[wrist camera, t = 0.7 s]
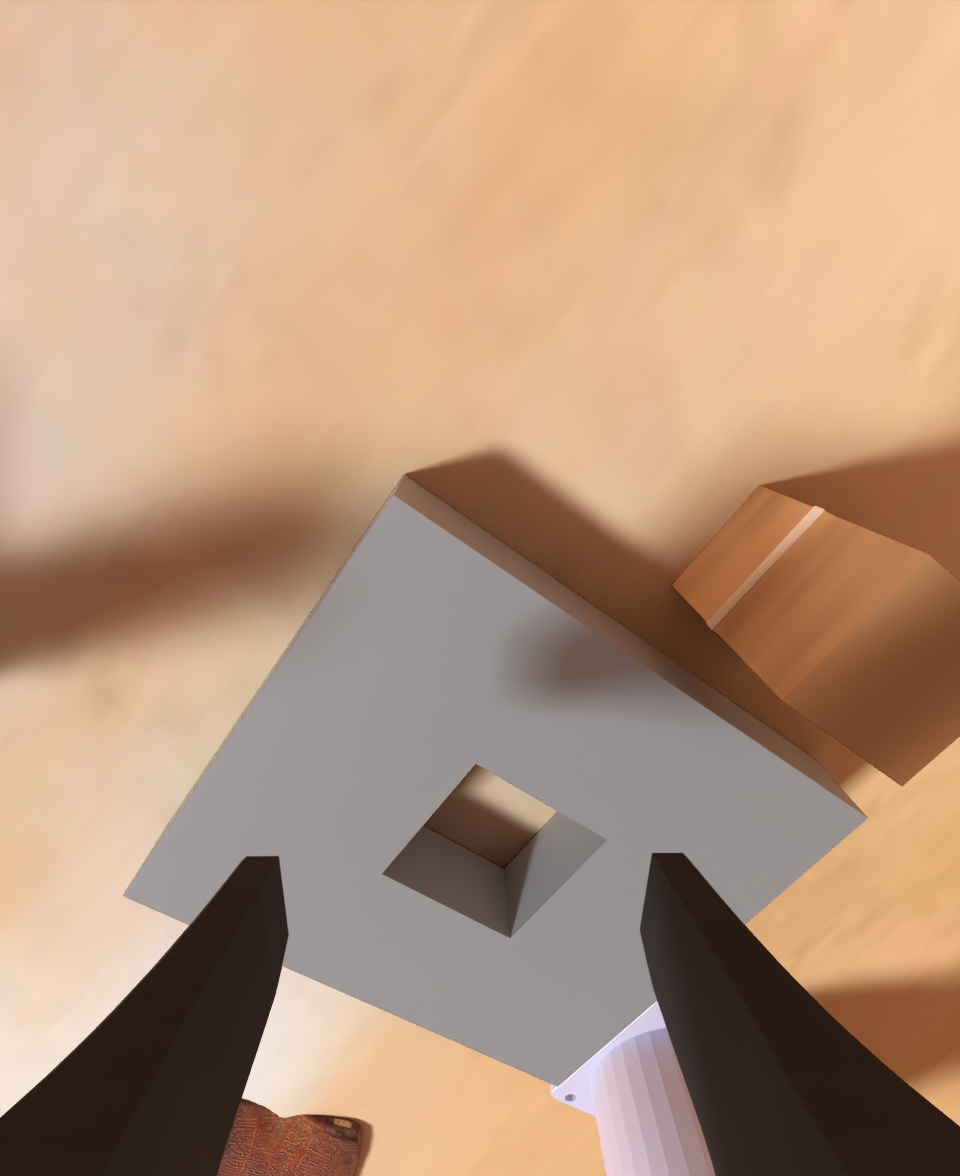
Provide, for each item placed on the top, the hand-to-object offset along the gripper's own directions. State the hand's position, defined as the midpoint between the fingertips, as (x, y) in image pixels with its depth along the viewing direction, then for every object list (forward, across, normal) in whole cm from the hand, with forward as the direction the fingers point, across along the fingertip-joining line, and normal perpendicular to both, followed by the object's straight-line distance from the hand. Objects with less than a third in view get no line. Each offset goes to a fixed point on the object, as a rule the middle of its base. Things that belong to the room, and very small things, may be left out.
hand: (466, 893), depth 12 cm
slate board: (+9, -1, +5) cm, 11 cm away
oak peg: (+9, -10, -4) cm, 14 cm away
